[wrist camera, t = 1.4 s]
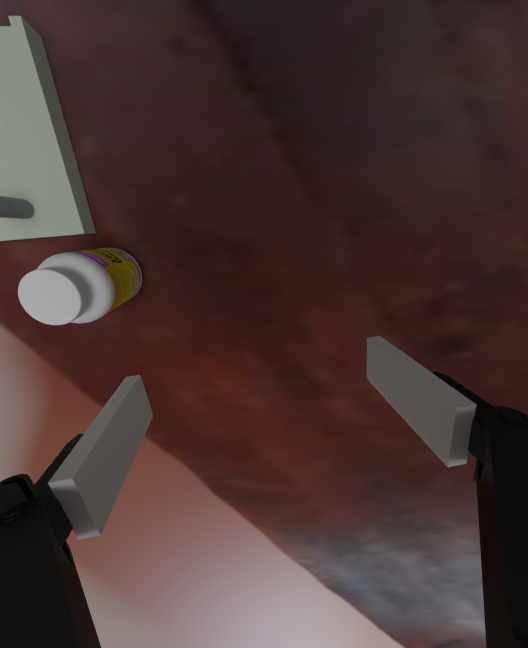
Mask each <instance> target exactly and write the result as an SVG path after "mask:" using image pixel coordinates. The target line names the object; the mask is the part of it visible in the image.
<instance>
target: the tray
mask: <svg viewBox="0 0 528 648" xmlns="http://www.w3.org/2000/svg"><path fill="white" fill-rule="evenodd" d="M8 17H9V20H10V24H11V26H4V27H0V241H9V240H21V239H33V238H45V237H57V236H69V235H81V234H93V233H96V231H95V227H94V224H93V220H92V216H91V213H90V209H89V206H88V202H87V198H86V195H85V191H84V188H83V184H82V181H81V177H80V173H79V170H78V166H77V163H76V159H75V155H74V152H73V148H72V145H71V141H70V138H69V134H68V130H67V127H66V123H65V120H64V116H63V112H62V109H61V105H60V102H59V98H58V95H57V91H56V87H55V84H54V80H53V77H52V73H51V69H50V66H49V62H48V59H47V55H46V51H45V48H44V44H43V41H42V37H41V36H40V35H39V34H38V33H37V32H36V31H35V30H34V29H33V28H32V27H31V26H30V25H29V24H28V23H27V22H26V21H25V20H24V19H23V18H22V17H21V16H8Z"/></svg>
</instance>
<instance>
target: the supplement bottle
mask: <svg viewBox="0 0 528 648" xmlns="http://www.w3.org/2000/svg"><path fill="white" fill-rule="evenodd" d="M141 284H142V272H141V269H140V267H139V265H138V263H137V262H136V260H135V259H134V258H133V257H132V256H131V255H129V254H128V253H126V252H125V251H123V250H120V249H117V248H99V249H91V250H83V251H76V252H68V253H61V254H56V255H53V256H51V257H49V258H47V259H46V260H45V261H43V262H42V263H41V264H40V265H39V267H38V268H37V270H34V271H31V272H29V273H28V274H26V275H25V276H24V277H23V278H22V280H21V281H20V284H19V287H18V296H19V300H20V302H21V304H22V306H23V308H24V309H25V310H26V311H27V313H28V314H29V315H31V316H32V317H33V318H35V319H36V320H38V321H40V322H43V323H46V324H50V325H62V324H66V323H69V322H72V323H87V322H91V321H94V320H97V319H99V318H100V317H102V316H104V315H105V314H107V313H108V312H110V311H111V310H113V309H115V308H116V307H118V306H119V305H121V304H123V303H124V302H126V301H127V300H129V299H130V298H132V297H133V296H135V295H136V294H137V292H138V291H139V289H140V287H141Z"/></svg>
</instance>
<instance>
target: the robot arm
mask: <svg viewBox="0 0 528 648" xmlns="http://www.w3.org/2000/svg"><path fill="white" fill-rule="evenodd" d="M367 379H368V380H369V381H370V383H371V384H372V385H373V386H374V387H375V388H376V389H377V390H378V391H379V392H380V394H381V395H382V396H383V397H384V398H385V399H386V400H387V401H388V402H389V403H390V405H391V406H392V407H393V408H394V409H395V410H396V411H397V412H398V413H399V414H400V415H401V417H402V418H403V419H404V420H405V421H406V422H407V423H408V424H409V425H410V426H411V428H412V429H413V430H414V431H415V432H416V433H417V434H418V435H419V436H420V437H421V439H422V440H423V441H424V442H425V443H426V444H427V445H428V446H429V447H430V448H431V450H432V451H433V452H434V453H435V454H436V455H437V456H438V457H439V458H440V459H441V461H442V462H443V463H444V464H445V465H446V466H447V467H451V466H456V465H461V464H466V462H467V456H468V451H469V452H470V453H471V454H472V455H473V456H474V457H475V458H476V459H477V462H476V467H475V472H474V478H473V481H474V482H477V497H478V514H479V530H480V547H481V564H482V580H483V597H484V614H485V630H486V647H487V648H528V416H527V415H526V414H524V413H522V412H520V411H518V410H515V409H512V408H508V407H501V406H496V407H493V406H492V405H491V404H489V403H488V402H486V401H485V400H483V399H482V398H480V397H479V396H477V395H476V394H474V393H473V392H471V391H470V390H468V389H466V388H465V387H464V386H462V385H461V384H458V382H456V381H455V380H453V379H452V378H450V377H449V376H446V375H444V374H441V373H439V372H430V371H428V370H427V369H426V368H424V367H423V366H421V365H420V364H419V363H417V362H416V361H414V360H413V359H412V358H410V357H409V356H407V355H406V354H404V353H403V352H402V351H400V350H399V349H397V348H396V347H395V346H393V345H392V344H390V343H389V342H388V341H386V340H385V339H383V338H382V337H381V336H376V337H370V338H367ZM152 417H153V414H152V411H151V407H150V404H149V401H148V398H147V395H146V392H145V389H144V386H143V383H142V380H141V377H140V375H136V376H130V377H126V378H125V379H124V380H123V382H122V383H121V385H120V386H119V387H118V389H117V390H116V391H115V393H114V394H113V395H112V397H111V398H110V399H109V401H108V402H107V403H106V405H105V406H104V408H103V409H102V410H101V412H100V413H99V414H98V416H97V417H96V418H95V420H94V421H93V422H92V424H91V425H90V427H89V428H88V429H87V431H86V432H85V433H84V434H78V435H77V436H76V437H75V438H74V439H72V440H71V441H70V442H68V443H67V444H66V446H65V447H64V448H63V449H62V451H61V452H60V453H59V456H57V457H56V458H55V460H54V461H53V462H52V464H51V465H50V466H49V467H48V468H47V470H46V471H45V472H44V474H43V475H42V476H41V477H40V479H39V480H38V481H37V482H36V484H35V485H34V484H33V482H32V480H31V479H30V477H29V476H28V475H27V474H19V475H15V476H12V477H10V478H7V479H5V480H3V481H1V482H0V648H101V646H100V642H99V639H98V636H97V633H96V630H95V627H94V624H93V621H92V617H91V614H90V611H89V608H88V604H87V601H86V598H85V595H84V592H83V589H82V586H81V582H80V579H79V576H78V573H77V570H76V567H75V563H74V561H73V557H72V554H71V551H70V548H69V545H68V544H67V542H66V540H67V538H68V536H69V534H70V532H71V531H72V529H73V531H74V532H75V534H76V536H77V538H78V540H80V539H86V538H91V537H96V536H101V533H102V531H103V529H104V526H105V524H106V522H107V520H108V517H109V515H110V513H111V511H112V508H113V506H114V504H115V501H116V499H117V497H118V494H119V492H120V490H121V488H122V485H123V483H124V481H125V478H126V476H127V474H128V472H129V469H130V467H131V465H132V462H133V460H134V458H135V455H136V453H137V451H138V449H139V446H140V444H141V442H142V440H143V437H144V435H145V433H146V430H147V428H148V426H149V424H150V421H151V419H152Z"/></svg>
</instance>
